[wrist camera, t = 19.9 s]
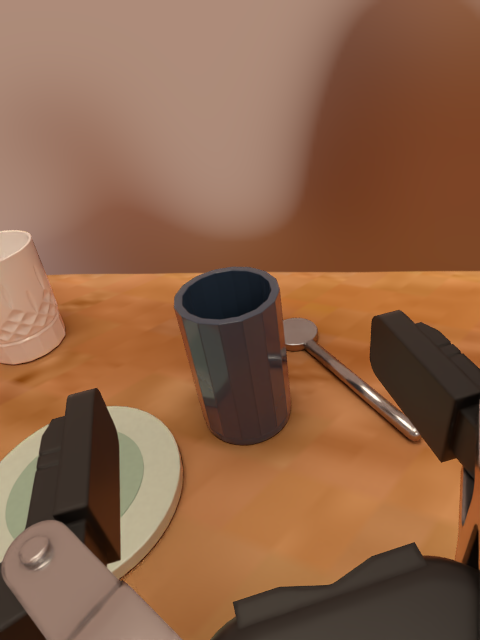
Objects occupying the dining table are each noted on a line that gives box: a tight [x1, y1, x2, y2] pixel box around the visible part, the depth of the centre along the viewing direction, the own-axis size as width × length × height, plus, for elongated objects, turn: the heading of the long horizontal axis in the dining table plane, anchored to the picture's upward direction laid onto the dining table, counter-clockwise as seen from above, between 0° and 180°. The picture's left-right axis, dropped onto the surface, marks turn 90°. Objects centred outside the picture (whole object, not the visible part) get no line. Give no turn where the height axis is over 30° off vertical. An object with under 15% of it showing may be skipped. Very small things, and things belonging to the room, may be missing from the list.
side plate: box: [0, 406, 183, 579], centre depth 27 cm, size 13×13×1 cm
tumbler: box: [174, 267, 291, 445], centre depth 28 cm, size 6×6×10 cm
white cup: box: [0, 230, 65, 365], centre depth 39 cm, size 8×8×10 cm
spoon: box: [283, 318, 422, 441], centre depth 33 cm, size 4×16×1 cm, turn 28°
